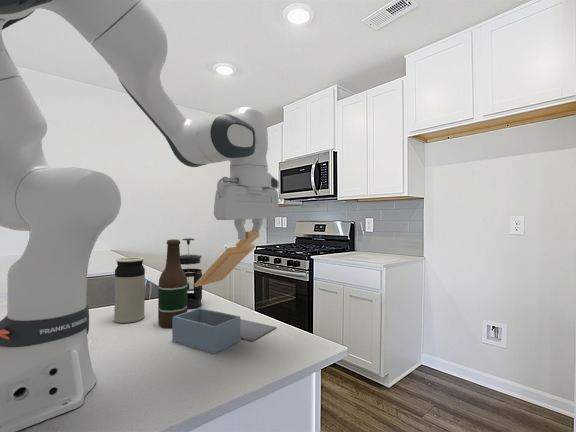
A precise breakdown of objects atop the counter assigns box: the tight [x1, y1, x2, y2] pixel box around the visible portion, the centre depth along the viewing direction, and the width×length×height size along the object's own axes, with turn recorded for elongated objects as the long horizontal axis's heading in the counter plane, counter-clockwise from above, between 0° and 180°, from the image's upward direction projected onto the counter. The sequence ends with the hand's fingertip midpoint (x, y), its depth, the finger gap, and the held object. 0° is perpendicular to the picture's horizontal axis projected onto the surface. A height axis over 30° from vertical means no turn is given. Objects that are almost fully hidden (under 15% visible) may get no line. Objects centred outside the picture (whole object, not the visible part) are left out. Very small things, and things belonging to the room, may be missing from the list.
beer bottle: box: [157, 238, 188, 329], centre depth 91 cm, size 8×8×24 cm
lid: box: [193, 230, 260, 287], centre depth 79 cm, size 10×19×2 cm
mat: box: [240, 318, 277, 343], centre depth 87 cm, size 11×14×1 cm
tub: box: [171, 307, 241, 355], centre depth 79 cm, size 9×14×6 cm, turn 60°
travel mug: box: [113, 256, 146, 324], centre depth 95 cm, size 8×8×18 cm
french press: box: [180, 237, 203, 311], centre depth 109 cm, size 12×9×23 cm
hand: (248, 238), depth 76 cm, fingers closed on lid, 3 cm apart
